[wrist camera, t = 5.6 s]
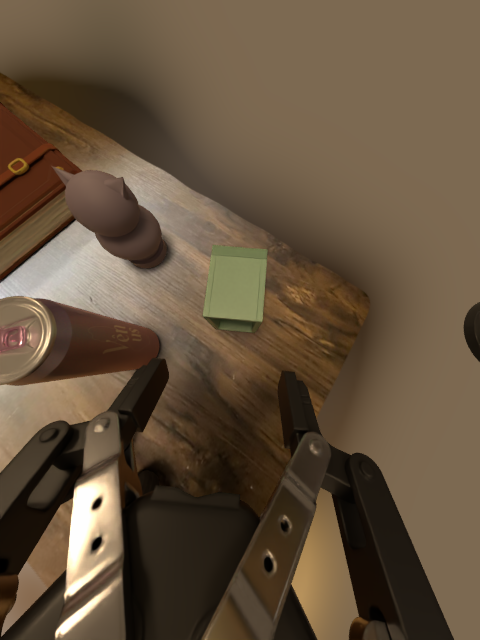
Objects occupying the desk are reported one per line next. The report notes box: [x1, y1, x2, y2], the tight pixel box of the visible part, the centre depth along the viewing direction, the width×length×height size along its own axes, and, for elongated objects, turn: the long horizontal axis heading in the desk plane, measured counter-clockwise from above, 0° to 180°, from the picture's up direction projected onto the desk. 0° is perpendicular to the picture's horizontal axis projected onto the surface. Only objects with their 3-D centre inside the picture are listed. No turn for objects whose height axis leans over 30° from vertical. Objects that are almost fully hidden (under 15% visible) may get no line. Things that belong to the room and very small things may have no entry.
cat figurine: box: [52, 166, 167, 269], centre depth 23 cm, size 8×8×12 cm
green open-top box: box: [203, 245, 268, 333], centre depth 22 cm, size 8×6×9 cm
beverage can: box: [0, 296, 159, 386], centre depth 18 cm, size 6×6×15 cm
